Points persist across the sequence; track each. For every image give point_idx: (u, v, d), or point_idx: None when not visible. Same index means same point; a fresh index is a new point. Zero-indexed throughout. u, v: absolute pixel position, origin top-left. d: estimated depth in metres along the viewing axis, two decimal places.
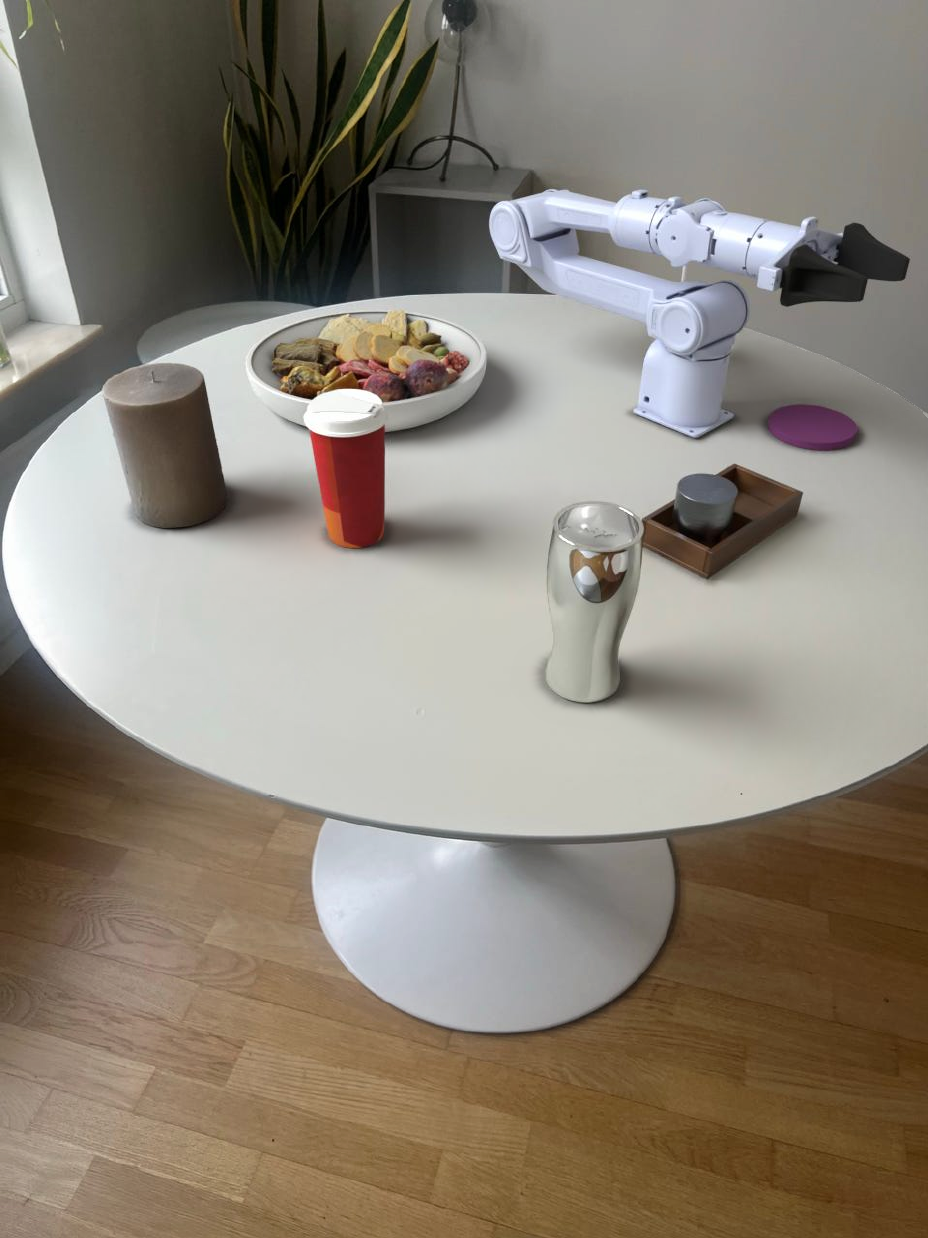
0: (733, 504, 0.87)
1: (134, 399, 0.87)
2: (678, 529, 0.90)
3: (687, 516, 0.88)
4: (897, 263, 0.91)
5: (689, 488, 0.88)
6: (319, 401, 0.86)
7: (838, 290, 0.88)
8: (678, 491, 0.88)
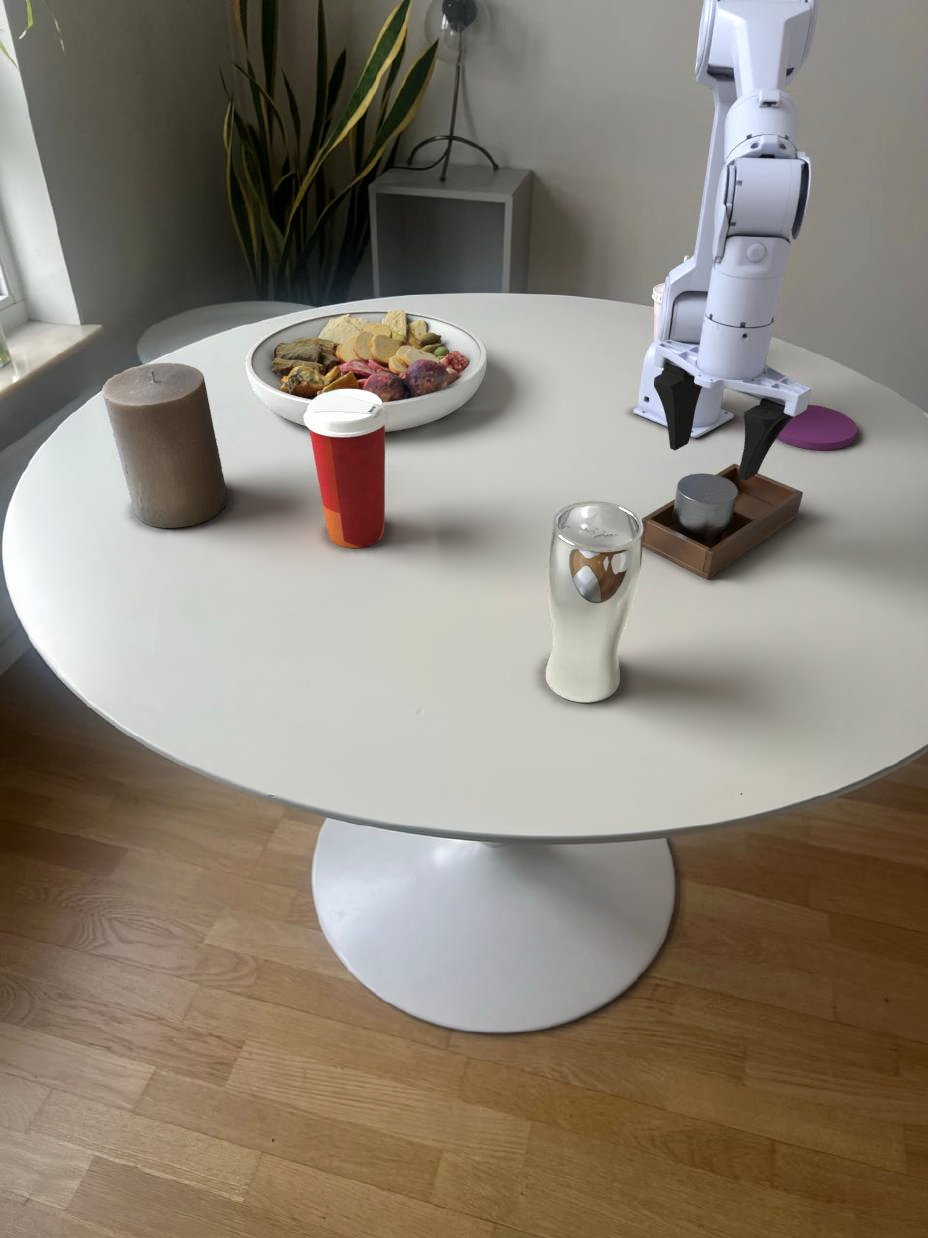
0: (733, 504, 0.87)
1: (134, 399, 0.87)
2: (678, 529, 0.90)
3: (687, 516, 0.88)
4: None
5: (689, 488, 0.88)
6: (319, 401, 0.86)
7: None
8: (678, 491, 0.88)
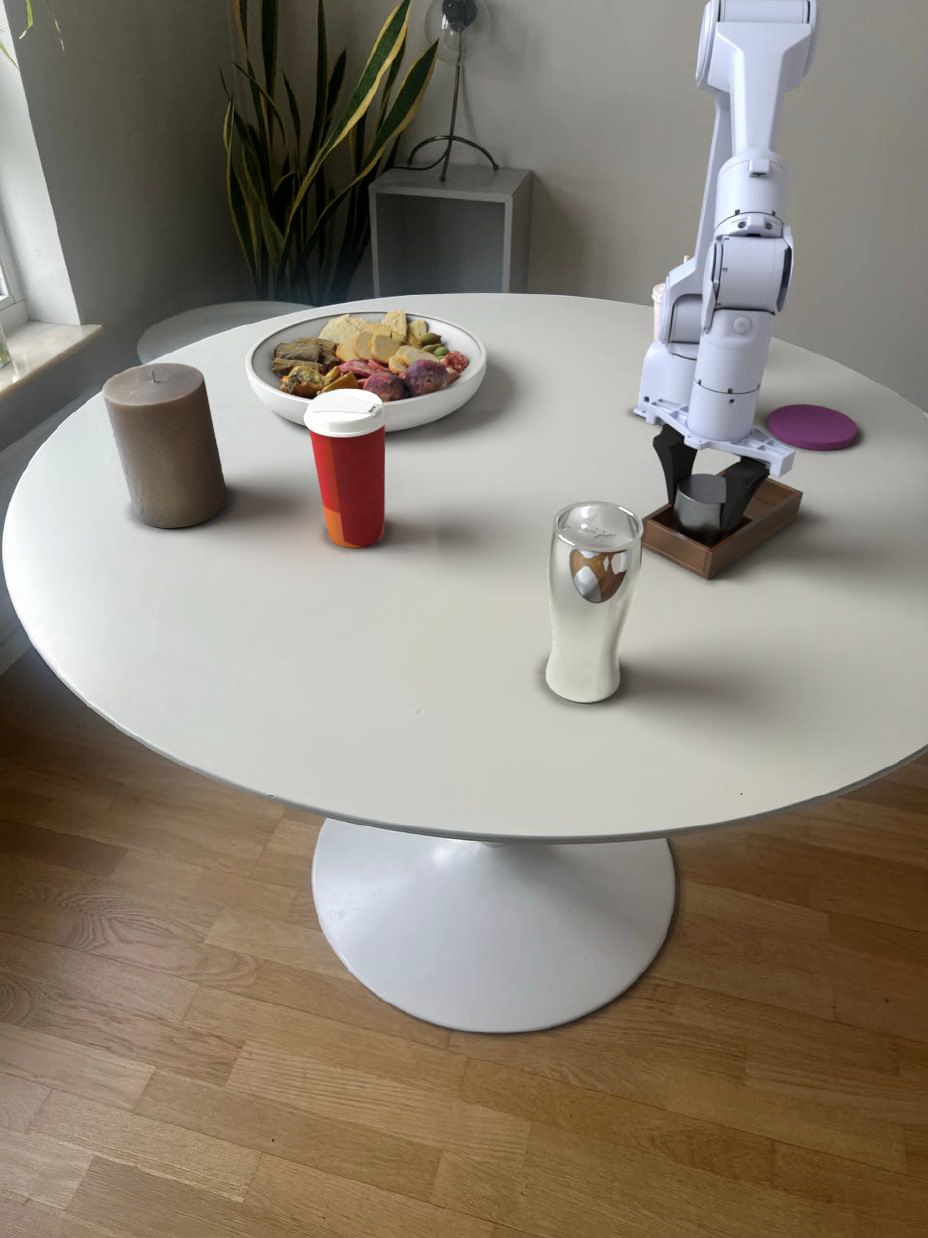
0: None
1: (134, 400, 0.87)
2: (678, 529, 0.90)
3: (687, 516, 0.88)
4: None
5: (689, 488, 0.88)
6: (319, 401, 0.86)
7: None
8: (678, 491, 0.88)
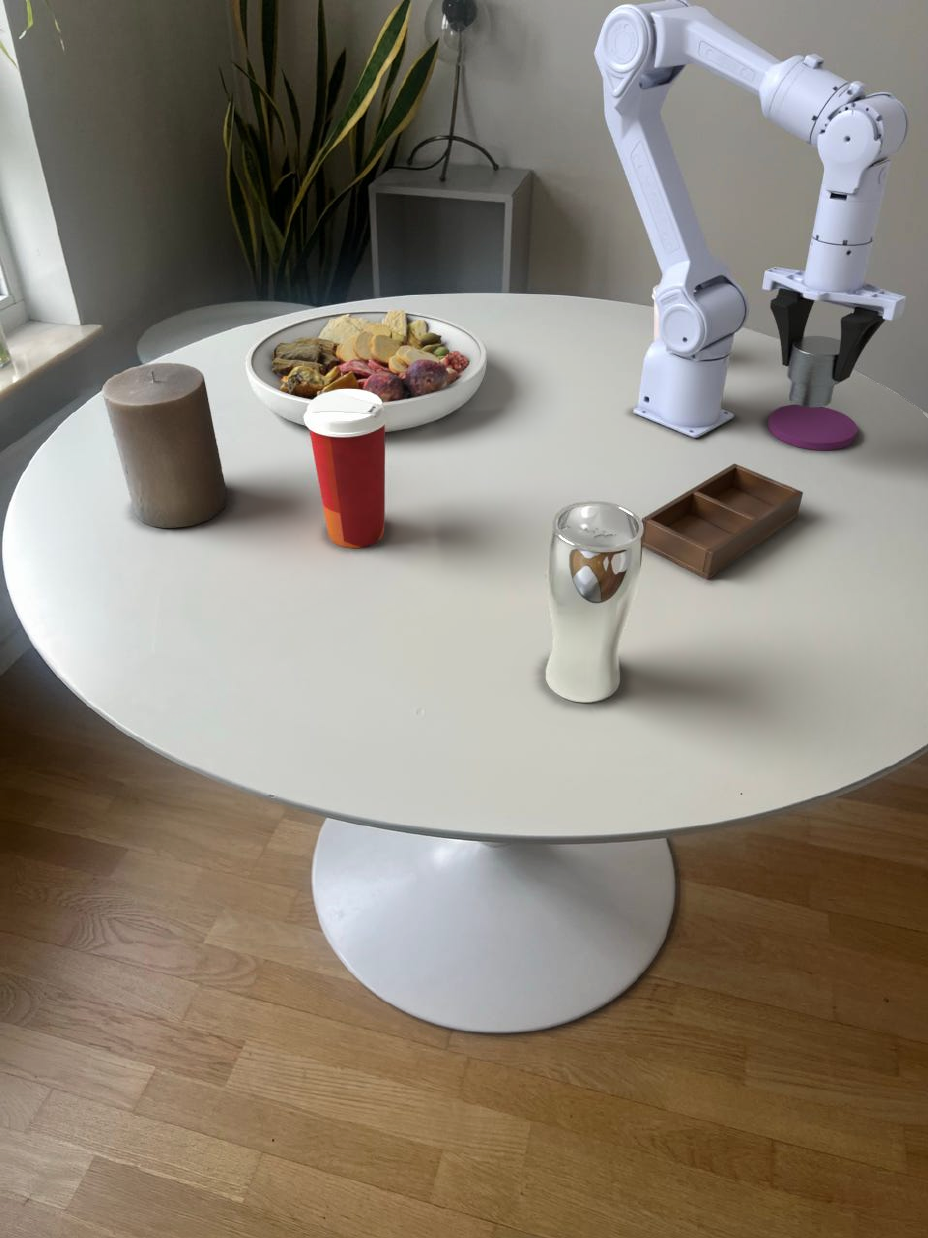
0: None
1: (134, 399, 0.87)
2: (792, 387, 1.00)
3: (803, 370, 0.97)
4: None
5: (804, 345, 0.98)
6: (319, 401, 0.86)
7: None
8: (794, 348, 0.97)
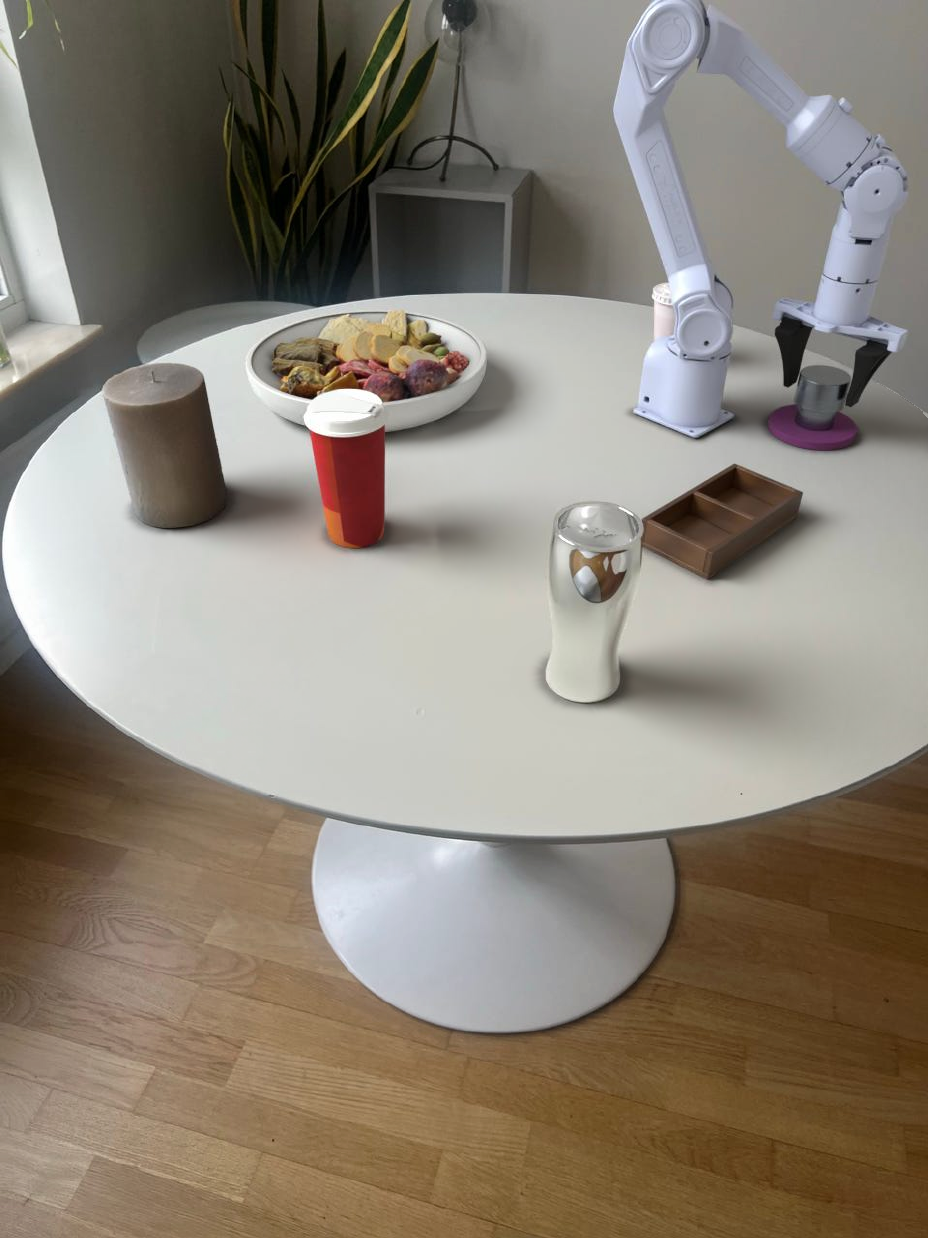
0: (848, 386, 1.06)
1: (134, 399, 0.87)
2: (799, 412, 1.09)
3: (811, 398, 1.06)
4: None
5: (811, 375, 1.06)
6: (319, 401, 0.86)
7: None
8: (802, 378, 1.06)
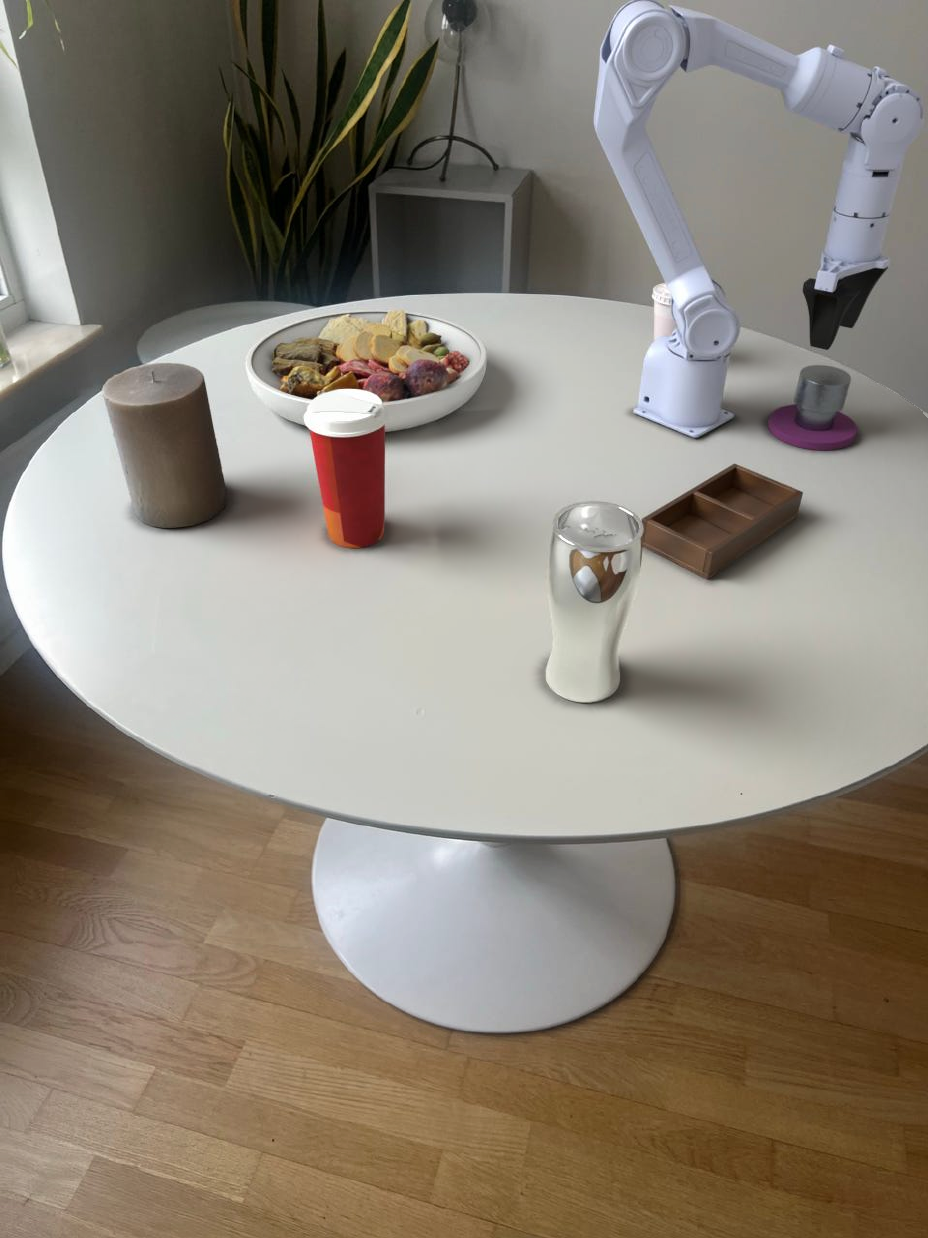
0: (848, 386, 1.06)
1: (134, 400, 0.87)
2: (799, 412, 1.09)
3: (811, 398, 1.06)
4: (848, 320, 1.08)
5: (811, 375, 1.06)
6: (319, 401, 0.86)
7: (818, 328, 1.03)
8: (802, 378, 1.06)
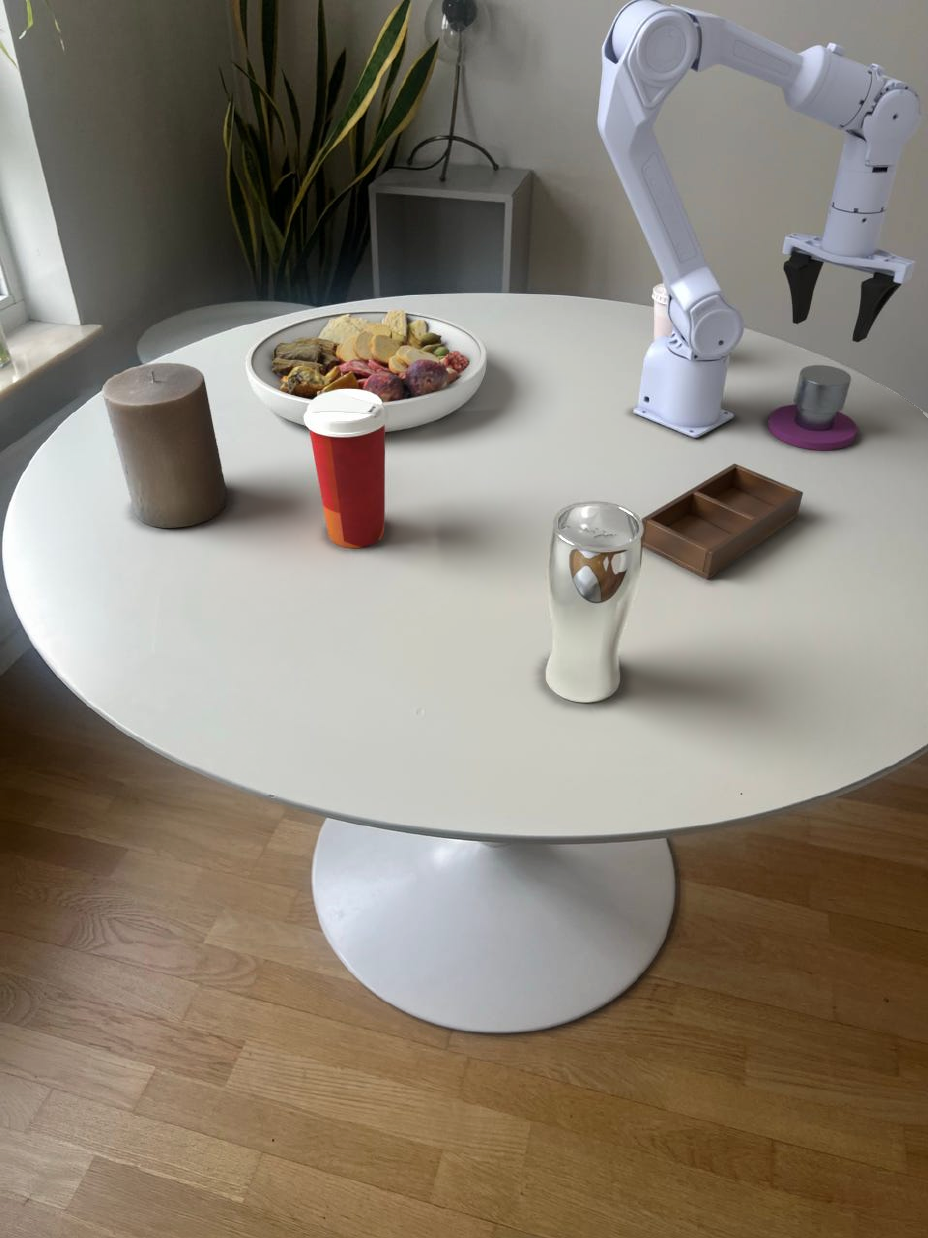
0: (848, 386, 1.06)
1: (134, 400, 0.87)
2: (799, 412, 1.09)
3: (811, 398, 1.06)
4: (805, 314, 1.10)
5: (811, 375, 1.06)
6: (319, 401, 0.86)
7: (866, 322, 1.04)
8: (802, 378, 1.06)
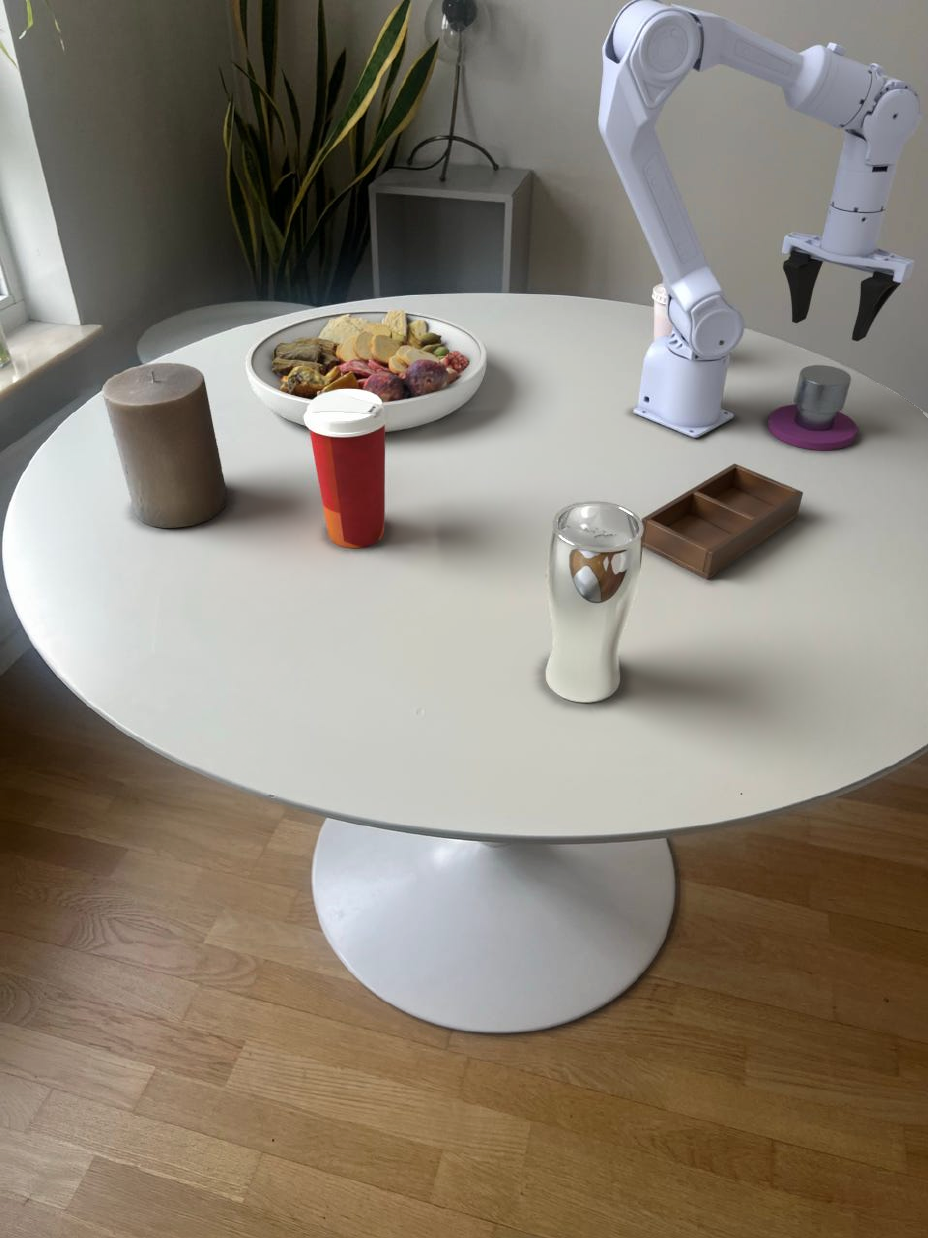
0: (848, 386, 1.06)
1: (134, 400, 0.87)
2: (799, 412, 1.09)
3: (811, 398, 1.06)
4: (804, 313, 1.10)
5: (811, 375, 1.06)
6: (319, 401, 0.86)
7: (866, 321, 1.04)
8: (802, 378, 1.06)
